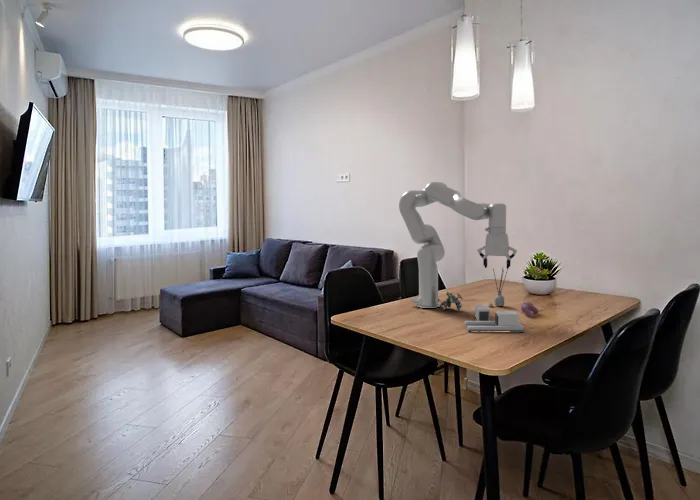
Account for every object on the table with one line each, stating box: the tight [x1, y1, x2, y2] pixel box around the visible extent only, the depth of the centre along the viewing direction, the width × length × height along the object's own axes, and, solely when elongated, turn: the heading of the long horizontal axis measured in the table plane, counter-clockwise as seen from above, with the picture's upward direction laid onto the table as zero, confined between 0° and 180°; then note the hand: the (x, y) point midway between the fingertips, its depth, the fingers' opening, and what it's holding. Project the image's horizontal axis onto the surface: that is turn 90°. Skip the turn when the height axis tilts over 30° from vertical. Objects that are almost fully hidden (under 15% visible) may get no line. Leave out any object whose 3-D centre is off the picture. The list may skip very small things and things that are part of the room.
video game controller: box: [520, 301, 539, 318], centre depth 208 cm, size 10×5×7 cm, turn 141°
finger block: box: [474, 304, 491, 321], centre depth 200 cm, size 8×5×6 cm, turn 174°
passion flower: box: [438, 291, 464, 312], centre depth 218 cm, size 11×11×12 cm
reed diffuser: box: [487, 267, 509, 308], centre depth 223 cm, size 10×7×20 cm
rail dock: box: [464, 310, 525, 332], centre depth 186 cm, size 22×10×7 cm, turn 84°
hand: (496, 267), depth 206 cm, fingers open, 9 cm apart
